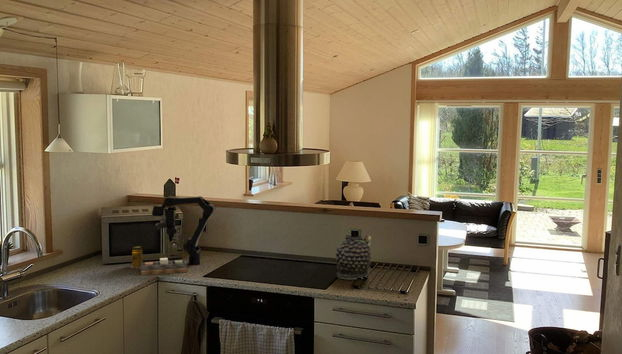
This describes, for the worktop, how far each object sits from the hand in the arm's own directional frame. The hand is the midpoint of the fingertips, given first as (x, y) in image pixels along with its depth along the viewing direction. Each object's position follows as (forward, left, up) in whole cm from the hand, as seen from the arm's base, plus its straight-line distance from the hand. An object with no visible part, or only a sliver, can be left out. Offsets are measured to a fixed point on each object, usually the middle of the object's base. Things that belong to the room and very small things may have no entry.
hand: (170, 242), depth 360 cm
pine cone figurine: (-97, +61, -13) cm, 115 cm away
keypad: (+5, +18, -13) cm, 22 cm away
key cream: (+5, +18, -9) cm, 20 cm away
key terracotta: (+13, +18, -11) cm, 25 cm away
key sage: (-4, +18, -11) cm, 21 cm away
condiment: (+19, +4, -13) cm, 23 cm away
